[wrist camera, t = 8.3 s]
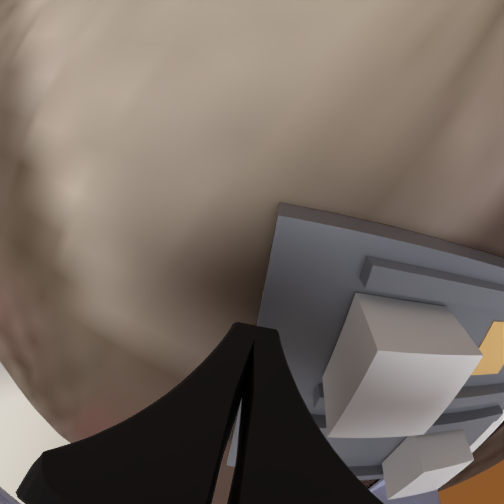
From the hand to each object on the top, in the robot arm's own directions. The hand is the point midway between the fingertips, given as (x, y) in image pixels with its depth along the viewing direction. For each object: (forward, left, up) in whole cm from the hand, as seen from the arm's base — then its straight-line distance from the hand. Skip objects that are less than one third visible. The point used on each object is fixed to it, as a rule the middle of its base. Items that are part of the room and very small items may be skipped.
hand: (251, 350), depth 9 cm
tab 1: (0, -5, -1) cm, 5 cm away
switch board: (-4, -10, -3) cm, 11 cm away
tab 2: (-8, -12, -1) cm, 14 cm away
